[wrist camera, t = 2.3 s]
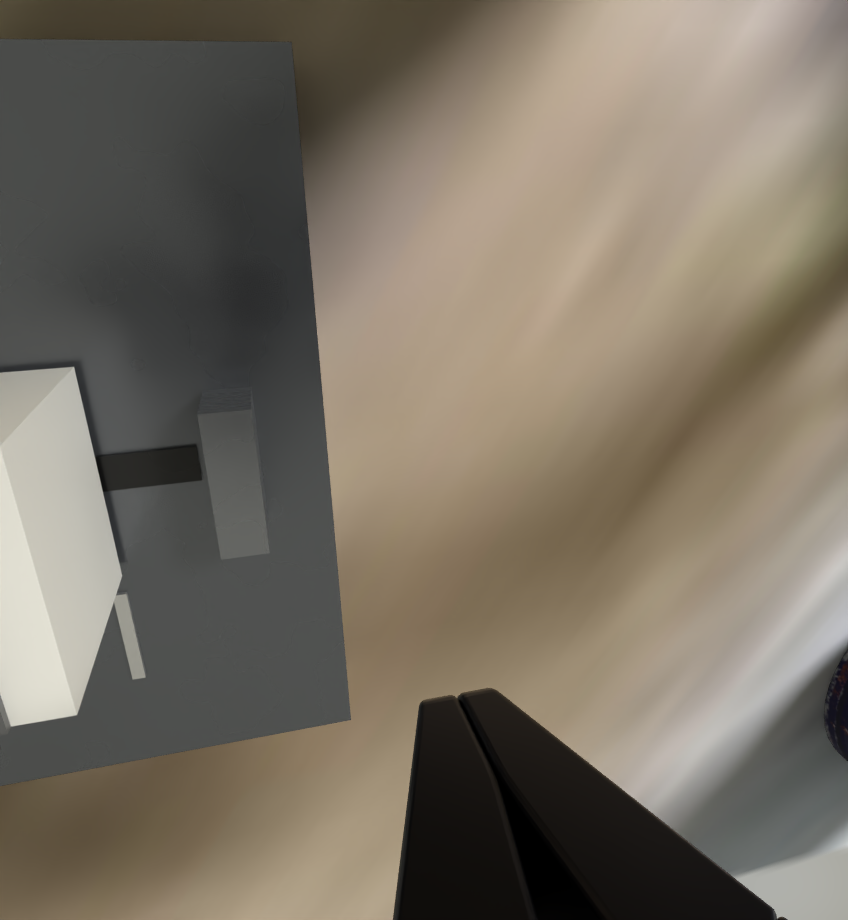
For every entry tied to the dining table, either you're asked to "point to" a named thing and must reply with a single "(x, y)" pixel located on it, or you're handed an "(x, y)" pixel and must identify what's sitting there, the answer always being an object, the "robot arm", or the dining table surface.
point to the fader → (50, 548)
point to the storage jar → (838, 709)
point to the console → (178, 383)
